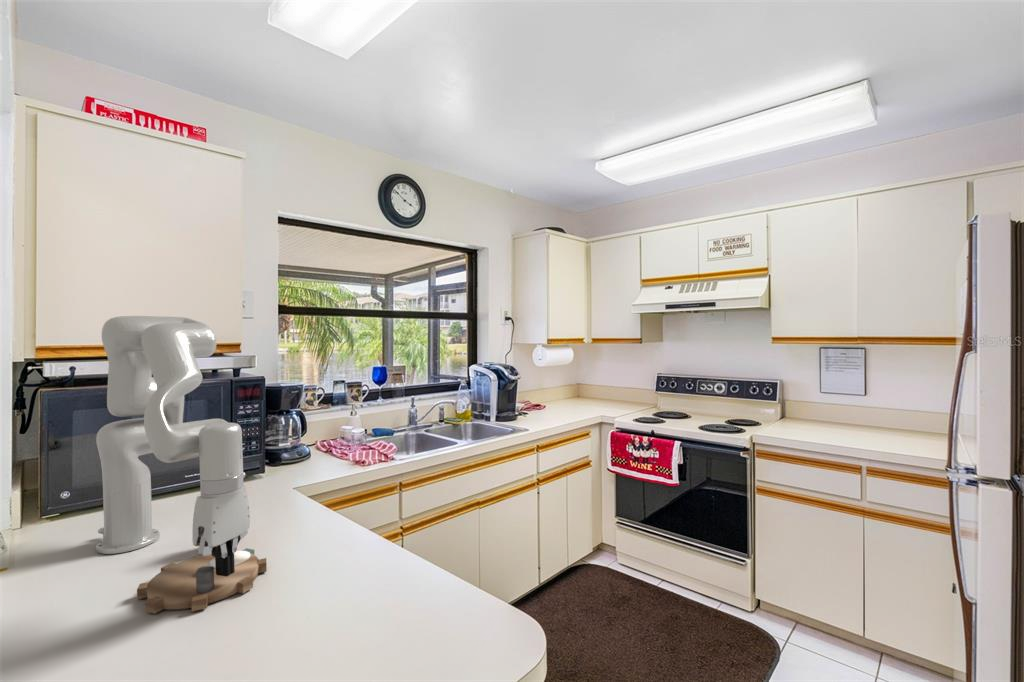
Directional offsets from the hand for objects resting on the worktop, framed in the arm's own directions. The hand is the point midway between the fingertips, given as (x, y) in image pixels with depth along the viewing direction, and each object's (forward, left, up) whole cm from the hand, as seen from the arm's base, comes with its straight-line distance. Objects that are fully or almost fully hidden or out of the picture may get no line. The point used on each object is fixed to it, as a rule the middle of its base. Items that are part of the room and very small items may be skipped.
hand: (225, 573), depth 97 cm
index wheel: (-8, +2, -4) cm, 9 cm away
